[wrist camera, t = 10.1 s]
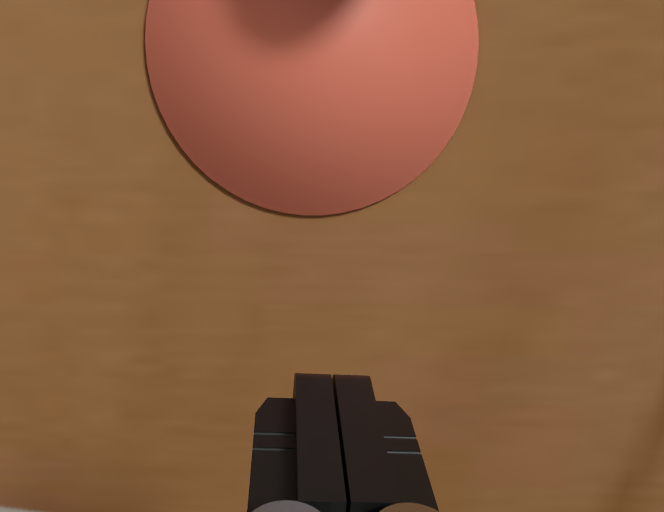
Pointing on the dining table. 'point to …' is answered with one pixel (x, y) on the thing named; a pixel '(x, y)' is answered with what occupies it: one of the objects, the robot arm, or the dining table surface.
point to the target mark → (312, 93)
